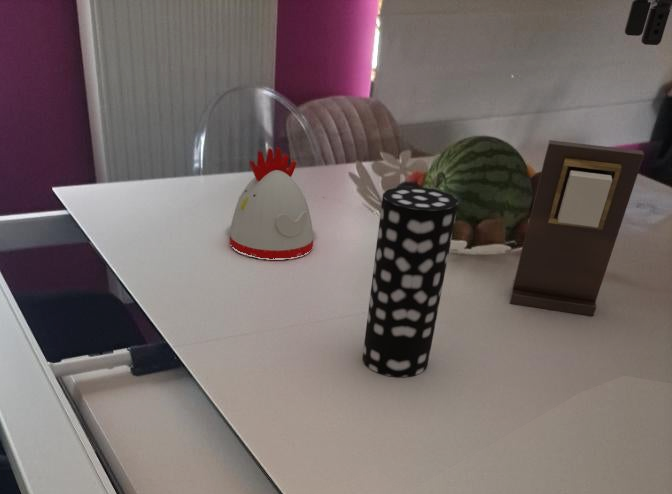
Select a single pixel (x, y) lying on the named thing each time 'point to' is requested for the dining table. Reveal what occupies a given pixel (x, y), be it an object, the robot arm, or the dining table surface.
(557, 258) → the wall panel
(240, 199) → the kitchen timer
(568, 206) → the switch button
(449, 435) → the dining table surface
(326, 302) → the dining table surface
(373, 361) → the spotted tube
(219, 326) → the dining table surface
